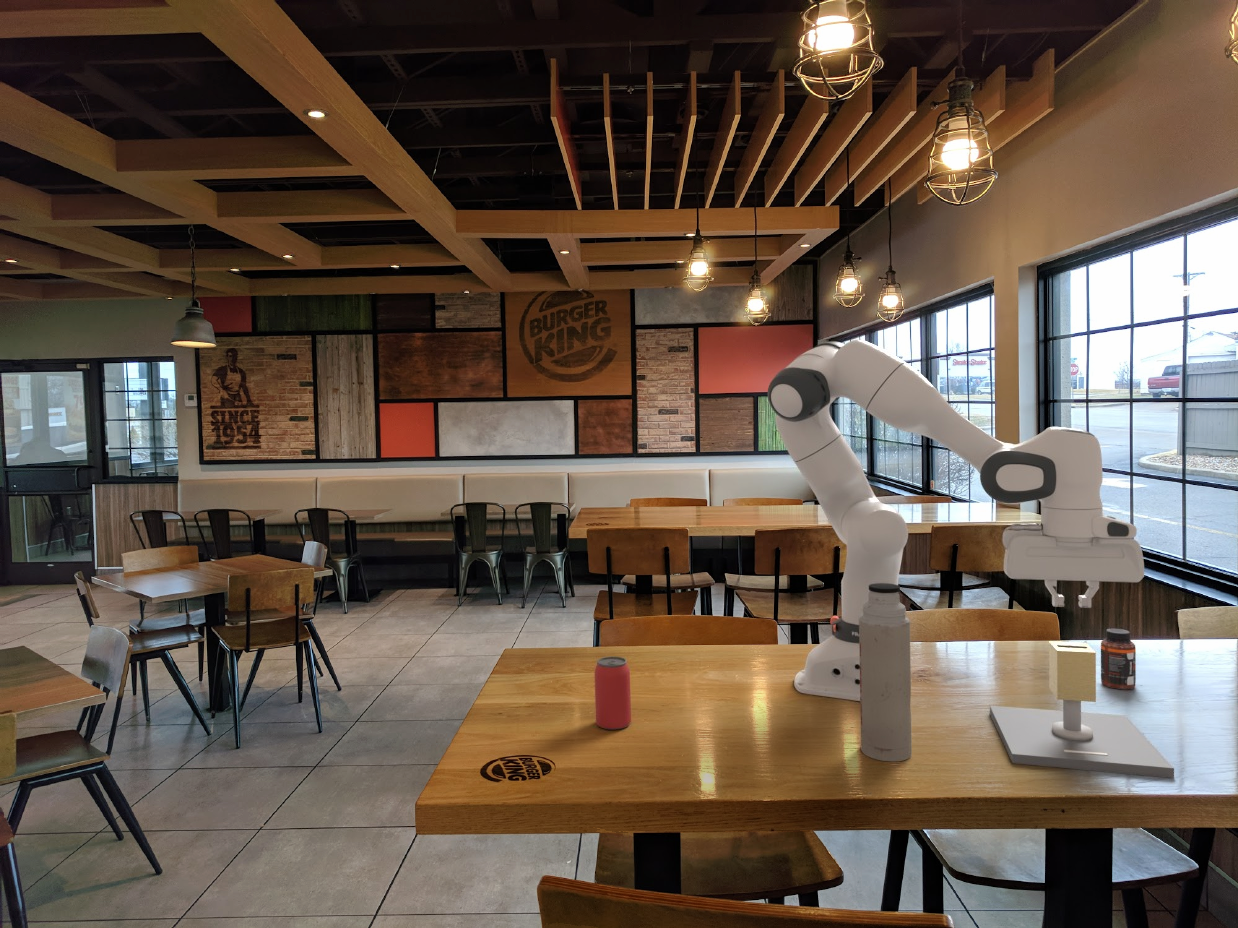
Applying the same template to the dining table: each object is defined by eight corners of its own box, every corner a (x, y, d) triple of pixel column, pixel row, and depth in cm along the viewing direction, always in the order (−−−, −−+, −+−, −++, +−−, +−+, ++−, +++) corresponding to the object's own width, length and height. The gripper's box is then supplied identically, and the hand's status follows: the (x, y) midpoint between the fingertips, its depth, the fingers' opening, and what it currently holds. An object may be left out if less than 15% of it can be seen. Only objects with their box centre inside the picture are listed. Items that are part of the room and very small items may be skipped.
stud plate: (1012, 762, 122) (1011, 704, 122) (989, 713, 143) (989, 663, 143) (1174, 777, 116) (1174, 715, 115) (1125, 723, 137) (1125, 670, 136)
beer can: (600, 733, 139) (598, 667, 139) (592, 720, 145) (590, 657, 145) (635, 728, 141) (633, 663, 140) (625, 715, 147) (624, 654, 147)
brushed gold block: (1057, 699, 127) (1057, 649, 127) (1049, 688, 133) (1049, 640, 132) (1095, 701, 126) (1095, 651, 125) (1086, 690, 131) (1086, 641, 130)
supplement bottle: (1141, 691, 153) (1141, 634, 152) (1108, 690, 154) (1108, 634, 153) (1127, 681, 158) (1127, 627, 158) (1095, 680, 160) (1095, 626, 159)
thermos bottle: (853, 753, 127) (850, 586, 126) (871, 738, 133) (869, 578, 132) (901, 765, 122) (899, 591, 121) (918, 749, 128) (916, 583, 127)
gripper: (1005, 525, 128) (1006, 608, 129) (1148, 527, 122) (1148, 613, 122) (999, 521, 134) (999, 599, 135) (1134, 522, 128) (1134, 604, 128)
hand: (1071, 606), depth 128 cm, fingers open, 3 cm apart
